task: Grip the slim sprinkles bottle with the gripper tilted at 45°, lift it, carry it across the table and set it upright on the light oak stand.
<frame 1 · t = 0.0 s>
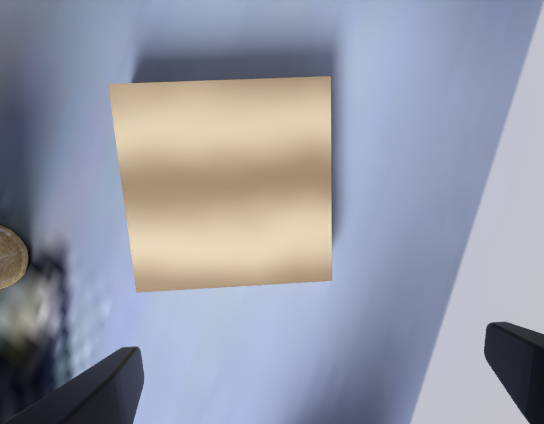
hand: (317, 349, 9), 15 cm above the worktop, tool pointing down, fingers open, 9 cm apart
oak stand: (232, 183, 22), on the worktop
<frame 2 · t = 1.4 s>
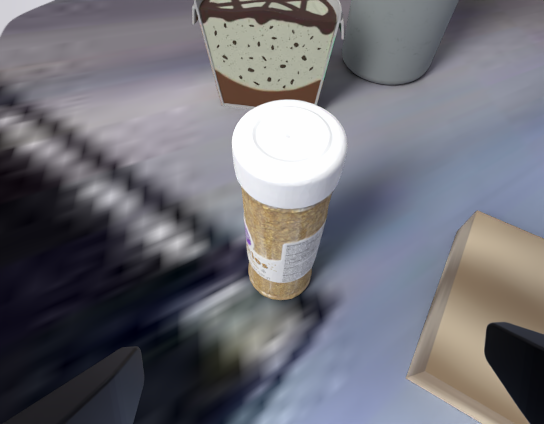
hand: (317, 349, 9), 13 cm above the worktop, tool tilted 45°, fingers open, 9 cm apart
food container: (272, 93, 35), on the worktop
oak stand: (527, 343, 21), on the worktop
water bottle: (382, 63, 38), on the worktop
sprinkles bottle: (280, 272, 24), on the worktop
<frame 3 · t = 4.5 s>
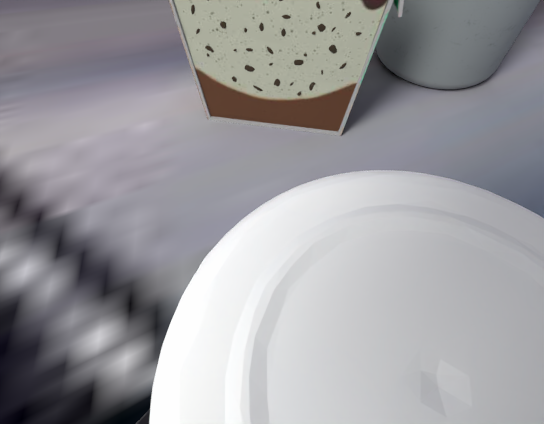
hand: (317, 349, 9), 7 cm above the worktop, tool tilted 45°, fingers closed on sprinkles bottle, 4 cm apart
food container: (279, 101, 25), on the worktop
water bottle: (429, 60, 28), on the worktop
sprinkles bottle: (300, 419, 14), on the worktop, touching gripper
when the fingers open (11 cm above the worktop, at t = 9.3 s): sprinkles bottle drops 1 cm, resting on oak stand.
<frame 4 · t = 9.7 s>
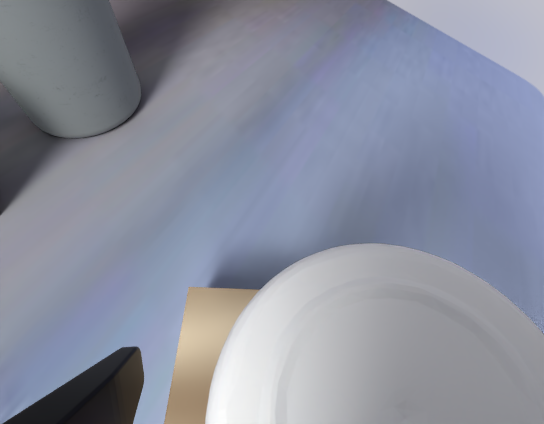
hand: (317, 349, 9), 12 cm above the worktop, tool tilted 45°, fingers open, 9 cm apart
oak stand: (294, 421, 18), on the worktop
water bottle: (90, 108, 31), on the worktop
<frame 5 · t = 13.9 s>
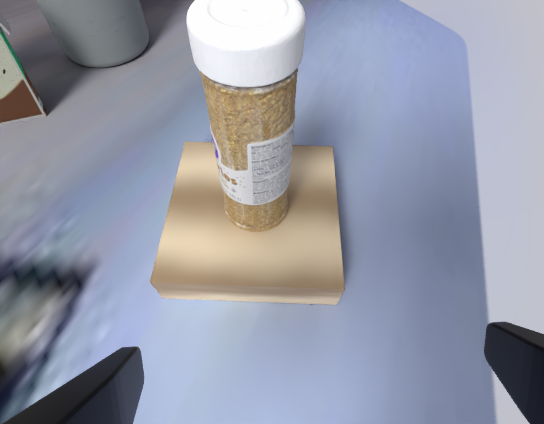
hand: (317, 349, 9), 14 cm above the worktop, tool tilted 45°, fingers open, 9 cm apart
oak stand: (255, 226, 26), on the worktop
water bottle: (109, 48, 40), on the worktop
sprinkles bottle: (257, 208, 24), point 3 cm above the worktop, touching oak stand
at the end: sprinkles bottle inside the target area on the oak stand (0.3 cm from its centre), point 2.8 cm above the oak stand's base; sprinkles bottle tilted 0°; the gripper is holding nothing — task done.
